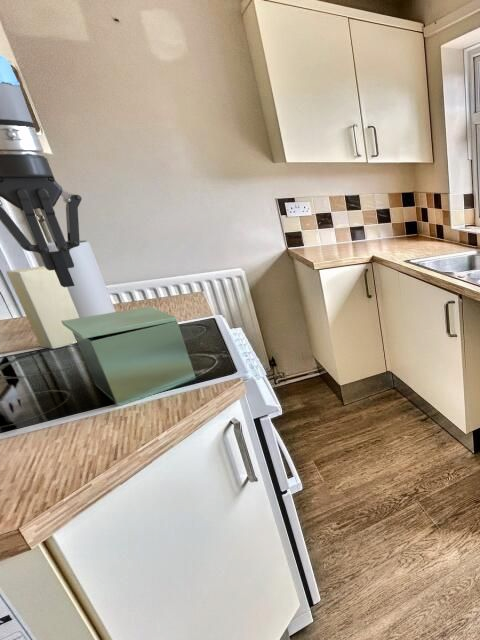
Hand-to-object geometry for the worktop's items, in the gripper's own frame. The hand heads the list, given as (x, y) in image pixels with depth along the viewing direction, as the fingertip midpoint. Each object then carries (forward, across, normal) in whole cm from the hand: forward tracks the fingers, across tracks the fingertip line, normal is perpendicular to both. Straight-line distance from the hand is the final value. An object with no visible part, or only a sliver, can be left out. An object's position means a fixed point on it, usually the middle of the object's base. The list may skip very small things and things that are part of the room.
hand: (67, 285), depth 82 cm
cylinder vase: (+24, +11, +68) cm, 73 cm away
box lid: (+8, +5, -4) cm, 10 cm away
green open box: (+22, +5, -4) cm, 23 cm away
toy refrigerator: (+23, +1, +48) cm, 54 cm away
